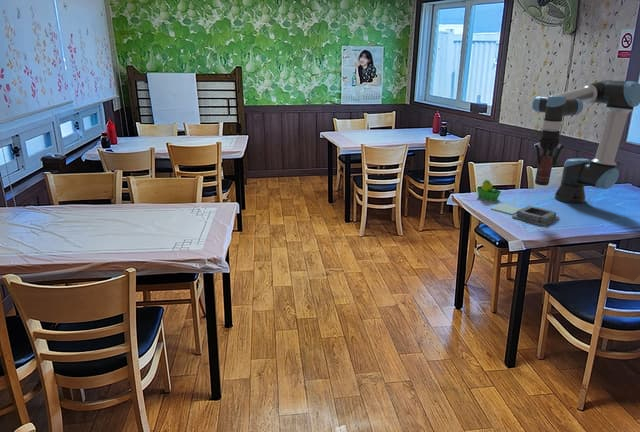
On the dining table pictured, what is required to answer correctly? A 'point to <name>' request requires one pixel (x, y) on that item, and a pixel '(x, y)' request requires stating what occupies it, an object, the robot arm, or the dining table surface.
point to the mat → (506, 209)
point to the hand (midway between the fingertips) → (542, 179)
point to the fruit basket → (488, 191)
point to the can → (544, 170)
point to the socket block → (536, 215)
